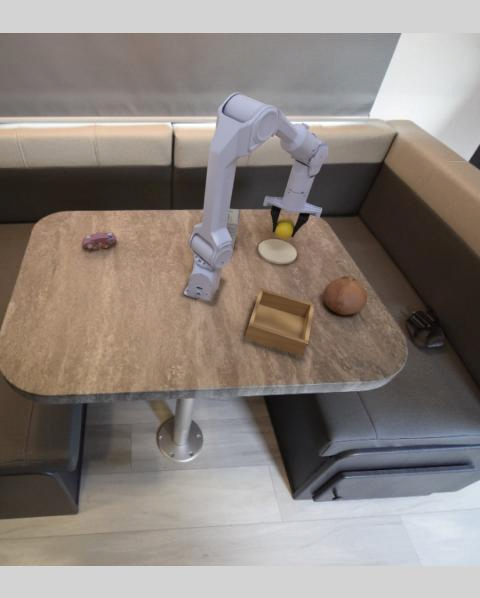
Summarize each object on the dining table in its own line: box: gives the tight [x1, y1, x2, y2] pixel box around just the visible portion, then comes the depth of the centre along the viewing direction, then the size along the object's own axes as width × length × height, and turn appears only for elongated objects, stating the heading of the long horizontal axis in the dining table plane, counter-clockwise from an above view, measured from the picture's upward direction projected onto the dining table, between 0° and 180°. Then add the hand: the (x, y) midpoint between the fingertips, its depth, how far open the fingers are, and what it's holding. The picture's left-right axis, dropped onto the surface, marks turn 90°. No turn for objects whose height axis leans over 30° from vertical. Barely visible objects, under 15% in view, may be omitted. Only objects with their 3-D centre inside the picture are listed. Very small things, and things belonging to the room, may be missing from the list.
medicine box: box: [227, 208, 240, 250], centre depth 103 cm, size 8×4×9 cm, turn 168°
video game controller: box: [81, 231, 117, 251], centre depth 100 cm, size 10×5×7 cm, turn 105°
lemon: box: [274, 217, 295, 240], centre depth 97 cm, size 7×5×5 cm, turn 157°
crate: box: [244, 288, 315, 357], centre depth 80 cm, size 13×13×5 cm
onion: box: [323, 274, 368, 317], centre depth 84 cm, size 10×9×10 cm
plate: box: [257, 238, 298, 265], centre depth 102 cm, size 11×11×1 cm
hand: (283, 233), depth 98 cm, fingers closed on lemon, 4 cm apart
